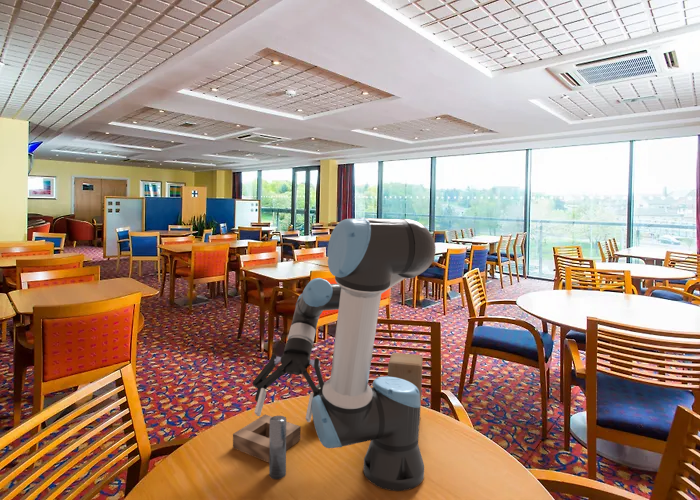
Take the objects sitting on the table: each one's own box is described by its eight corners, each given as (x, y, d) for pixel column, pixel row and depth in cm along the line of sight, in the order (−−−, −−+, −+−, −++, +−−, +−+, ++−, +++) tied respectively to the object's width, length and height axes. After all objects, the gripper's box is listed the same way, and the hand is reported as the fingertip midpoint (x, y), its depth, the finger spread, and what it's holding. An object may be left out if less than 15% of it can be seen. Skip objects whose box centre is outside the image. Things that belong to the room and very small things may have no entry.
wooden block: (419, 430, 126) (421, 365, 124) (385, 425, 128) (388, 362, 126) (420, 414, 136) (422, 354, 134) (389, 410, 138) (391, 351, 136)
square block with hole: (300, 439, 119) (300, 426, 119) (270, 463, 108) (270, 448, 108) (264, 427, 126) (265, 414, 125) (233, 447, 114) (232, 433, 114)
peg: (289, 472, 104) (289, 418, 103) (278, 481, 101) (279, 425, 100) (276, 467, 106) (276, 414, 105) (265, 475, 103) (266, 420, 102)
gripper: (343, 351, 122) (331, 427, 109) (262, 345, 126) (241, 416, 113) (340, 339, 116) (327, 417, 103) (255, 332, 121) (232, 407, 107)
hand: (282, 417), depth 108 cm, fingers open, 13 cm apart
